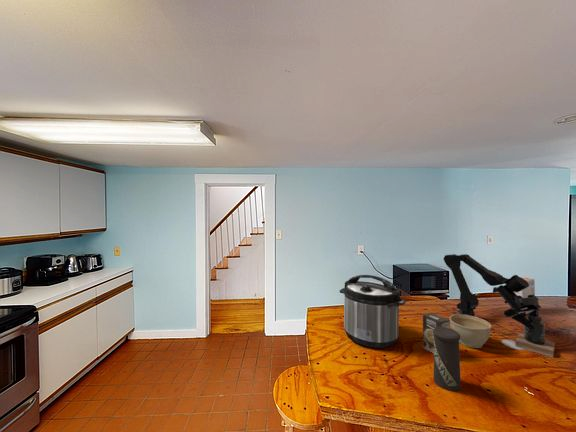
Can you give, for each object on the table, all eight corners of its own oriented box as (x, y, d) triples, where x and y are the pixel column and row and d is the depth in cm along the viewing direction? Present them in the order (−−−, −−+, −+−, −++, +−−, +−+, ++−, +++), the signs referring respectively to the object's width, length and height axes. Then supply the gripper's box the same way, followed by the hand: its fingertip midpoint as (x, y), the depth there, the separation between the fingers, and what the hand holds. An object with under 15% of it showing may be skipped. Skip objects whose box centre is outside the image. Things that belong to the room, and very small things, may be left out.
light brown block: (553, 357, 104) (553, 351, 104) (515, 346, 114) (515, 341, 114) (554, 347, 112) (554, 342, 112) (519, 337, 121) (519, 332, 121)
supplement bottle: (547, 346, 108) (547, 320, 108) (526, 342, 112) (526, 316, 112) (542, 339, 114) (542, 314, 114) (522, 335, 118) (522, 311, 118)
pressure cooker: (416, 344, 116) (415, 279, 116) (368, 357, 107) (367, 286, 106) (374, 319, 145) (373, 267, 144) (333, 327, 135) (332, 271, 135)
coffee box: (422, 348, 113) (421, 314, 113) (431, 345, 116) (431, 311, 116) (441, 358, 105) (440, 321, 105) (450, 355, 107) (450, 319, 107)
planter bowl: (453, 331, 128) (453, 311, 128) (493, 343, 117) (493, 320, 117) (446, 343, 117) (446, 321, 117) (489, 357, 105) (488, 332, 105)
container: (427, 376, 94) (427, 325, 93) (449, 374, 94) (448, 324, 94) (444, 392, 85) (443, 336, 85) (467, 390, 86) (467, 335, 86)
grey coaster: (510, 350, 112) (510, 348, 112) (497, 340, 120) (497, 338, 120) (532, 351, 110) (532, 350, 110) (518, 341, 119) (517, 340, 119)
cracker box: (523, 308, 158) (523, 276, 158) (535, 312, 152) (535, 279, 152) (510, 311, 153) (510, 279, 153) (522, 315, 147) (522, 281, 147)
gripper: (511, 291, 114) (541, 324, 103) (536, 287, 119) (567, 318, 109) (492, 301, 121) (519, 333, 111) (516, 297, 127) (544, 327, 117)
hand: (538, 328), depth 112 cm, fingers closed on supplement bottle, 7 cm apart
